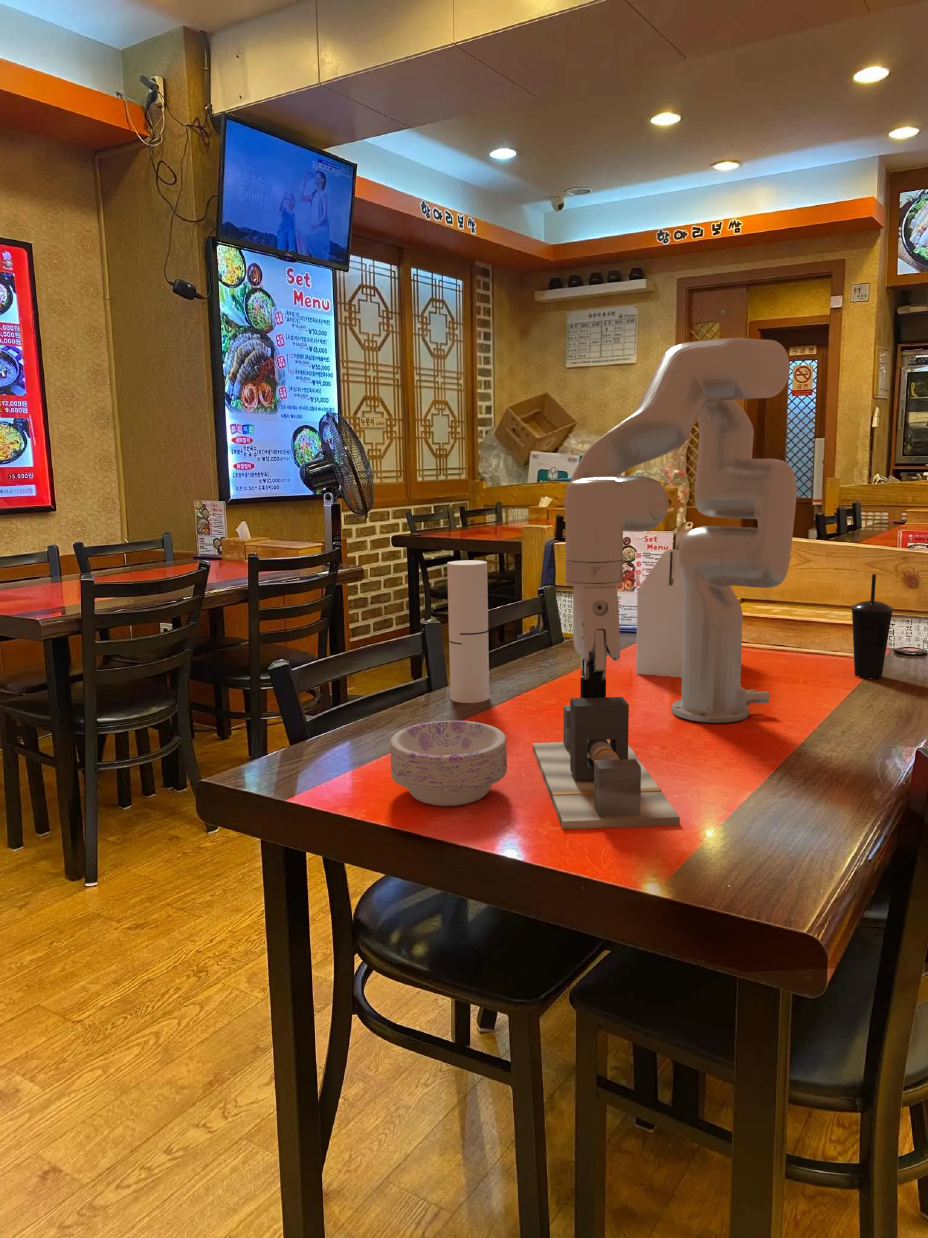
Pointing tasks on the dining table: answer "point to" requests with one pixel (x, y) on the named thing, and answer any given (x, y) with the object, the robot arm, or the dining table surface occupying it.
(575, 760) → the collar
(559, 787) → the pipe rig
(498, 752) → the paper bowls
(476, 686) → the cylindrical container
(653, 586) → the gable box
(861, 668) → the drinking cup
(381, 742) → the dining table surface
